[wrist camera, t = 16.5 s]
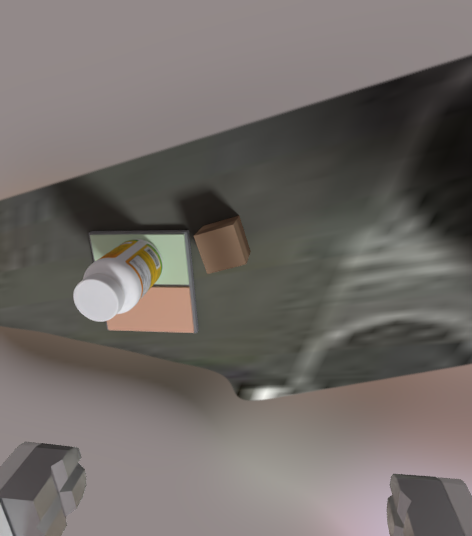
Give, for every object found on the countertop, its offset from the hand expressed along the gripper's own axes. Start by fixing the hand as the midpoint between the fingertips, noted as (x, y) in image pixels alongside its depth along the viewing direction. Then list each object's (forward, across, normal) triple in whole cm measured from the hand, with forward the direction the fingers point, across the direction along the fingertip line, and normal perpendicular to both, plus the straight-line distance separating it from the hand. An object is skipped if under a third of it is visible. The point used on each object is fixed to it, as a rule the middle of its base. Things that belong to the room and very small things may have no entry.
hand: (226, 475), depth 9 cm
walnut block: (+29, +5, +2) cm, 30 cm away
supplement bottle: (+28, +14, +4) cm, 32 cm away
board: (+29, +14, +7) cm, 33 cm away
